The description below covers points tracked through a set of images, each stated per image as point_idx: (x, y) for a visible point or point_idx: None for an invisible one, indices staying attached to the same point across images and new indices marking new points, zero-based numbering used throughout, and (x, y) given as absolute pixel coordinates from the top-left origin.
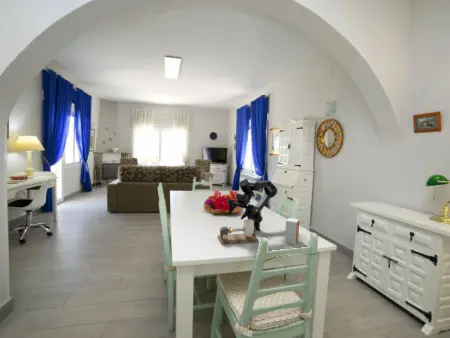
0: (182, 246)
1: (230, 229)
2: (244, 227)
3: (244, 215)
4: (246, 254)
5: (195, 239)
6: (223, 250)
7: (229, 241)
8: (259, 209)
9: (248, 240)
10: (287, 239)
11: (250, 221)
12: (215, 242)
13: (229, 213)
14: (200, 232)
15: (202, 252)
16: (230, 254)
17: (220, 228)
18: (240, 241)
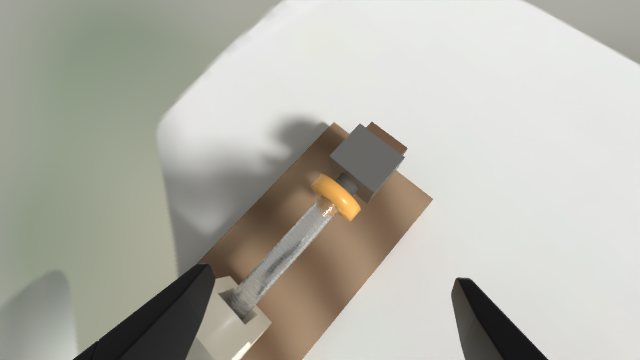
0: (472, 3)
1: (319, 178)
2: (231, 309)
3: (130, 326)
4: (174, 111)
5: (503, 97)
6: (287, 81)
7: (302, 156)
8: None
9: (209, 251)
10: None
11: None
12: None
13: (465, 311)
14: (593, 209)
15: (352, 14)
16: (238, 69)
17: (402, 146)
18: (251, 209)
